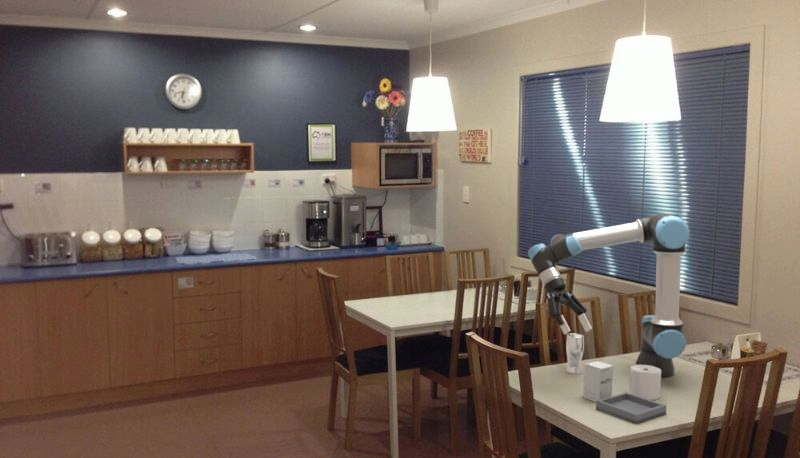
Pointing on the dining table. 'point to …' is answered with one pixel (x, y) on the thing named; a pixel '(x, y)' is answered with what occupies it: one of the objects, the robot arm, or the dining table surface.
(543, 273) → the robot arm
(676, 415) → the dining table surface
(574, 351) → the beer glass
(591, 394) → the supplement box
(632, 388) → the toilet tissue
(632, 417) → the holder tray
